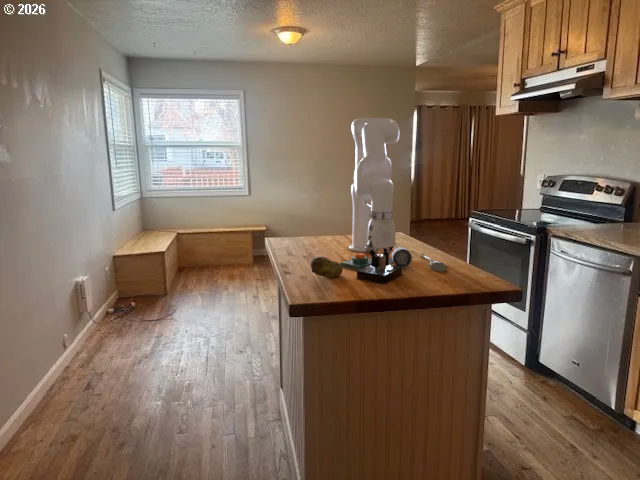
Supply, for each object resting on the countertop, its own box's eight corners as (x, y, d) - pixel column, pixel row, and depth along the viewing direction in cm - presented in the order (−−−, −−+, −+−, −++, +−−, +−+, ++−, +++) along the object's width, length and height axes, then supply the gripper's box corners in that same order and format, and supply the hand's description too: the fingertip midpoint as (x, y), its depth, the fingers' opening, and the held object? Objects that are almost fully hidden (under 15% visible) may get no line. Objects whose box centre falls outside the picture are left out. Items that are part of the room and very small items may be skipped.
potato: (348, 279, 157) (348, 257, 156) (313, 282, 153) (313, 260, 152) (340, 272, 165) (340, 252, 163) (307, 275, 161) (307, 254, 160)
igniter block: (359, 260, 183) (360, 252, 182) (379, 265, 176) (379, 256, 175) (340, 266, 174) (340, 257, 174) (359, 271, 167) (359, 262, 167)
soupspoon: (432, 273, 166) (449, 274, 167) (433, 265, 166) (450, 265, 166) (415, 257, 188) (430, 257, 188) (416, 249, 187) (431, 250, 187)
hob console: (375, 270, 169) (375, 262, 168) (401, 274, 162) (402, 266, 162) (356, 278, 157) (357, 270, 157) (384, 284, 151) (384, 275, 151)
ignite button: (359, 256, 177) (359, 252, 177) (366, 258, 174) (366, 253, 174) (353, 258, 174) (353, 253, 174) (360, 259, 172) (360, 255, 172)
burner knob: (377, 266, 162) (378, 252, 161) (387, 268, 160) (387, 254, 159) (372, 269, 159) (372, 254, 158) (382, 270, 157) (382, 256, 155)
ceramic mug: (409, 263, 179) (409, 244, 177) (412, 268, 170) (412, 249, 169) (382, 263, 179) (383, 245, 178) (384, 268, 171) (384, 249, 170)
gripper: (370, 219, 148) (369, 272, 151) (406, 215, 157) (404, 264, 161) (356, 216, 154) (355, 267, 157) (391, 212, 163) (389, 260, 167)
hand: (380, 265), depth 159 cm, fingers closed on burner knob, 4 cm apart
